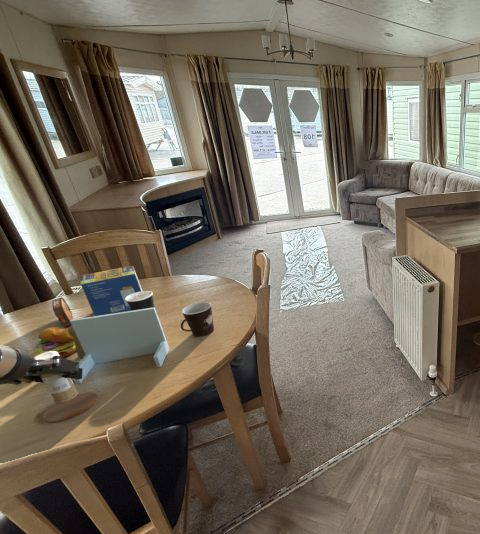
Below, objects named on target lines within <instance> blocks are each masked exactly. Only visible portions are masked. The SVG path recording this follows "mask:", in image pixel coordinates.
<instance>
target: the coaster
mask: <svg viewBox="0 0 480 534" xmlns="http://www.w3.org/2000/svg"><path fill="white" fill-rule="evenodd" d="M98 399H99V396H98V395H97V394H96V393H94V392H90V391H88V392H81V393H78V395H77V396H76V397H75V398H73V399H71V400H69V401H67V402H64V403H54V404H53V405H52V406H50V407H49V408H48V409H47V410H46V411H45V413H44V415H43V419H44V421H45V422H47V423H61V422H65V421H68V420H71V419H74V418H76V417H78V416H80V415H82V414H84V413H85V412H87V411H89V409H91V408H93V406H95V404H96V403H97V402H98Z"/></svg>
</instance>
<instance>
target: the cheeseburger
mask: <svg viewBox="0 0 480 534" xmlns="http://www.w3.org/2000/svg"><path fill="white" fill-rule="evenodd" d="M70 327H71V326H69V327H67V328H64V327H63V328H62V327H57V326H53V327H47V328H45V329H43V330H42V331H41V332H40V333H39V335H38V339H39V341H38V344H36V345H35V348H34V357H36V356H37V355H39V354H42V353H45V352H49V351H56V352H58V354H59V355H60V356H61V358H66V357H67V356H70V355H72V354H74V353H75V352H77V350H76V346H75V342H74V338H73V337H72V336H70V335H69V333H68V329H69V328H70Z"/></svg>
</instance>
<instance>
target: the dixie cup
mask: <svg viewBox="0 0 480 534" xmlns="http://www.w3.org/2000/svg"><path fill="white" fill-rule="evenodd" d="M153 295H154V293H153V291H151V290H142V291H141V292H136V293H133V294H131V295H128V296H127V297H126V298H125V301H127V303H128V304H129V306H130V308H131V310H132V311H134V310H140V309H147V308H154V307H155V303H154V302H155V301H154V297H153Z"/></svg>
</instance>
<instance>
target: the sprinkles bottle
mask: <svg viewBox="0 0 480 534" xmlns="http://www.w3.org/2000/svg"><path fill="white" fill-rule="evenodd" d="M53 356H60V355H59V354H58V352H56V351H49V352H45V353H42V354H39V355H37V356H36V357H35V356H33V358H35V359H42V360H50V358H53ZM40 377H41V379H42V381H43V382H44V383H43V384H44V386H45V388H46V389H47V391H48V393H49V394H50V396H51V397H52V399H53V403H54V404H56V403H64V402H67V401H69V400H71V399H73V398H75V397H76V396H77V395H78V394H79V391H78V389H77V388H76V386H75V384H74V382H73V380H72V379H73V378H64V377H62V375H52V374H43V375H40Z"/></svg>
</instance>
